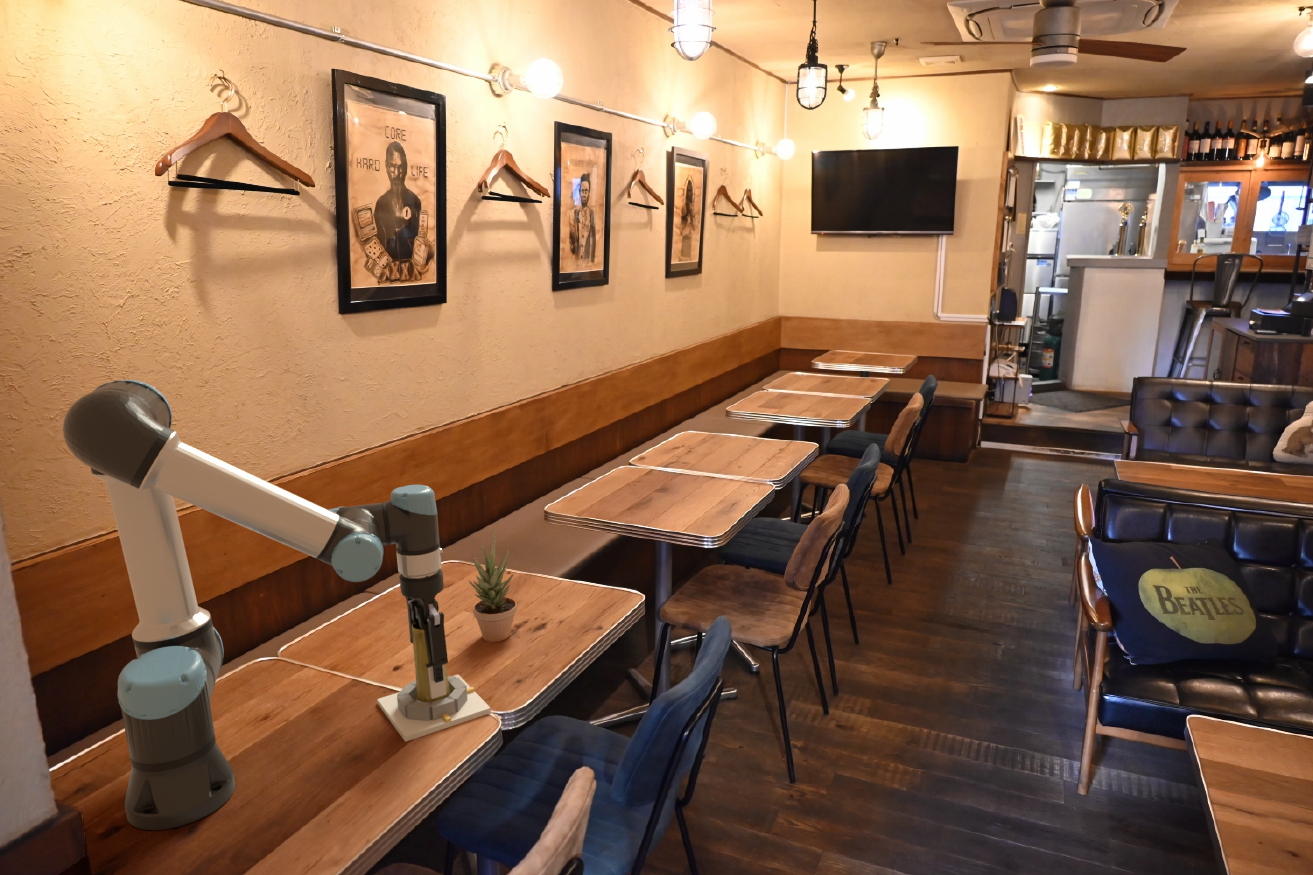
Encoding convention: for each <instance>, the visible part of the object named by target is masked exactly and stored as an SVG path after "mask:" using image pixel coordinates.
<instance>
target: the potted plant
mask: <svg viewBox="0 0 1313 875" xmlns="http://www.w3.org/2000/svg"><path fill="white" fill-rule="evenodd" d="M495 535H496V534H495V528H492V542H491V547H490V556H489V559H488V553H487V552H486V548H485V546H484V543H482V553H483V554H482V555H483V562H484V566H485V569H484V567H483V566H482V564H481V563H480V562H479V561H478V559H477V558H476V556H473V557H474V560H473V564H474V566H475V569H476V570H477V574H478V575H479V576H478V575H477V574H476V575H475V578H476V580H477V582H476V581H472V582H473V583H472V582H471V581H470V580H468V584H470V585H471V586H472V588H474V589H473V590H475V593H477V594H474V596H476V597H477V598H478V599H480V600H477V601H476V602H474V604H473V605H472V615H473V616H474V618H476V619H475V620H476V621H477V624H478V626H479V630H480V632H481V637H482V639H483V640H484V641H487V642H491V643H492V642H493V643H494V642H495V643H496V642H500V641H501V642H502V641H503V640H506V639H508V638H509V637H510V635H511V633H512V627H513V622H514V617H515V614H516V613H517V610H518V603H517V601H516V600H515V599H514V598H511V597H509V596H507V594H508V592H509V588H510V587H511V584H509V583H510V582H511V581H512V578H513V577H514V573H513V574H511V575H510V576H509V577H508V579H507V580H504V581H503V576H504V575H505V572H506V570H507V567H508V563H509V560H508V561H507V557H508V555H509V550H510V549H509V548H508V549H507V550H506V552H505V554H504V555H503V558H502V560H501V561H500V563H499V565H498V566H496V536H495ZM505 562H506V563H505ZM502 581H503V582H502Z"/></svg>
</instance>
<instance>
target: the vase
mask: <svg viewBox="0 0 1313 875" xmlns="http://www.w3.org/2000/svg"><path fill="white" fill-rule="evenodd" d="M412 636H413V643H412V645H413V647H412V648H413V655H414V667H415V669H414V670H415V671H414V673H415V680H416V698H417V699H418V700H419V701H420V702H434V701H437V700H440V699H443V698H446V697H448V695H449V694H450V689H449V683H448V676H449V675H448V668H447V664H444V674H445V684H446V695H443V696H440V697H437V698H434V699H432V698H431V695H430V685H429V675H428V668H426V665H425V664H429V658H428V653H427V648H426V643H425V635H424V630H423V629H421V628H419V627H417V626H416V623H415V622H414V623H413V624H412Z"/></svg>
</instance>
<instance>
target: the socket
mask: <svg viewBox="0 0 1313 875" xmlns="http://www.w3.org/2000/svg"><path fill="white" fill-rule="evenodd" d="M447 676H448V683H449V689H450V694H449V695H448V697H446V698H443V699H440V700H437V701H434V702H420V701H419V700H418V699H417V698H416V679H415V680H413V681H410V682H409V683H407V684H406V685H405V686H404V687H403V688H402V689H401V690H400V691H399V692H395V693H392V694H388V695H386V696H383V697H380V698H377V700H376V701H377V705H378V706H379V708H380V709H381V711H382V712H383V713H384V714H385V716H386V717H387V719H388V720H389V721H390V723H391V724H392V726H393V727H394V728H395V730H396V731H397V732H398V734H399V735H400V737H401V738H402V739H403V741H404V742H409V741H412V740H415V739H418V738H421V737H424V736H427V735H429V734H432V733H437V732H439V731H442V730H444V729H447V728H451V727H453V726H457V725H459V724H462V723H465V722H469V721H472V720H474V719H476V718H480V717H483V716H486V715H489V714H491V713H492V708H491V707H490V705H489V704H488V703H487V702H486V701H485V700H484V699H483V698H482V697H481V696H480V695H479V694H478V693H477V692H476V691H475V688H474V686H470V685H469V684H468V682H466V681H465V680H464V678H462V677H461V676H460V675H459V674H454V675H447Z"/></svg>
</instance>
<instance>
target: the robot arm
mask: <svg viewBox="0 0 1313 875" xmlns="http://www.w3.org/2000/svg"><path fill="white" fill-rule="evenodd" d="M172 417H173V413H172V409H171V406H170V403H169V401H168V400H167V397H165V395H164V394H163V393H162V392H161V391H159V389H157V388H156V387H155V386H153V385H151V384H149V383H147V382H144V381H140V380H135V379H120V380H113V381H110V382H105V383H102V385H99V386H97V387H96V388H95V389H94V390H93V391H91V392H89V393H87V394H85V395H83V396H81V397H80V398H78V399H77V400H76V401H75V402H74V403H73V404H72V405H71V406H70V407H69V408H68V410H67V412H66V414H65V416H64V419H63V426H62V434H63V438H64V442H65V444H66V446H67V448H68V450H69V451H70V452H71V453H72V455H74V457H75V458H76V459H77V460H79V461H80V462H81V463H82V464H84V465H86V466H88V467H89V468H90V471H91V474H92V476H93V477H95V478H97V479H99V480H101V481H103V482H104V483H106V489H107V492H108V495H109V500H110V504H111V507H112V512H113V517H114V520H115V524H116V529H117V532H118V537H119V540H120V545H121V550H122V554H123V557H124V562H125V566H126V569H127V574H128V578H129V582H130V586H131V590H132V595H133V599H134V603H135V604H134V605H135V608H136V611H137V614H138V615H137V616H138V620H139V622H138V624H137V625H136V627H134V629H133V630H132V632H131V637H132V641H133V646H134V650H135V652H136V653H135V654H136V658H135V659H132V660H130V661H129V662H128V663H127V664H126V665H125V666H124V667H123V668H122V670H121V672H120V674H119V675H118V679H117V699H118V704H119V707H120V710H121V716H122V721H123V725H124V726H123V728H124V732H125V737H126V742H127V747H128V753H129V758H130V759H129V760H130V764H131V771H130V775H129V780H128V784H127V789H126V792H125V793H126V794H125V799H124V808H125V815H126V818H127V822H128V823H129V824H130V825H131V826H133V827H135V828H136V829H140V830H146V831H161V830H168V829H169V830H170V829H174V828H178V827H183V826H185V825H188V824H191V823H193V822H196V821H198V820H200V819H203V818H205V817H207V816H209V815H211V814H212V813H214V812H216V810H218V809H219V808H221V807H222V806H223V805H225V803H226V802H228V800H229V799H230V798H231V797H232V795H233V793H234V792H235V788H236V782H235V774H234V771H233V768H232V766H231V765H230V763H229V761H228V760H227V758H226V756H225V755H224V753H223V752H222V750H221V748H220V746H219V745H218V744H217V739H216V734H215V727H214V721H213V715H212V707H211V706H212V704H211V700H212V696H213V692H214V689H215V686H216V683H217V678H218V676H219V674H220V670H221V668H222V666H223V662H224V660H223V659H224V658H225V657H224V655H225V654H224V645H223V641H222V638H221V635H220V634H219V632H218V631H217V629H216V628H215V627H214V625H213V622H212V620H213V619H212V616H211V613H210V611H209V610H207V609H205V608H203V607H201V606H199V605H198V602H197V597H196V591H195V588H194V582H193V578H192V574H191V570H190V565H189V561H188V556H187V552H186V547H185V542H184V538H183V533H182V530H181V526H180V521H179V516H178V512H177V508H176V504H175V498H177V499H178V500H182V501H183V502H185V503H188V504H190V505H193V506H195V507H198V508H199V509H202V510H205V511H207V512H209V513H212V514H213V515H216V516H219V517H220V518H222V519H224V520H228V521H230V522H231V523H234V524H236V525H238V526H240V527H243V528H246V529H248V530H250V531H252V532H255V533H257V534H259V535H262V536H264V537H266V538H268V539H271V540H273V541H275V542H278V543H280V544H282V545H285V546H287V547H289V548H292V549H294V550H296V551H297V552H300V553H303V554H306V555H308V556H310V557H312V558H315V559H316V560H319V561H321V562H323V563H325V564H327V565H330V566H332V568H333V570H334V571H335V572H336V574H337V575H338V576H339V577H341V579H343V580H346V581H349V582H353V583H359V582H364V581H367V580H369V579H370V578H373V577H374V576H375V575H376V573H378V572H379V570H380V569H381V566H382V564H383V558H384V557H383V556H384V550H385V549H384V546H389V545H394V544H395V548H396V550H395V551H396V559H397V560H396V562H397V570H398V573H399V586H400V593H401V595H402V596H403V597H404V598H405V600H406V606H407V616H408V626H409V627H408V628H409V642H410V643H411V644H413V636H412V624H413V623H414V622H415V623H416V626H417V627H419V628H421V629H423V630H424V635H425V643H426V648H427V653H428V658H429V664H425V665H426V668H428V675H429V685H430V695H431V698H432V699H434V698H437V697H440V696H443V695H446V684H445V674H444V664H446V665H447V664H448V663H449V659H448V651H447V650H448V649H447V641H446V632H445V614H444V612H443V611H440V612H439V610H440V607H439V602H438V601H437V600H436V597H437V595H438V594H439V593H440V594H441V592H442V591H443V590H444V587H445V585H444V574H443V569H441V568H442V567H443V566H442V558H441V557H442V556H441V554H443V552H444V550H443V548H441V544H440V534H439V533H440V532H439V531H440V530H439V519H438V517H439V516H438V509H437V503H436V497H435V496H436V495H435V491H434V490H433V489H432V488H431V487H430V486H428V485H424V484H410V485H409V484H408V485H404V486H399V487H397V488H394V489H393V490H392V491H391V493H390V499H389V500H388V501H385V502H384V501H383V502H376V503H375V502H374V503H368V504H359V505H358V504H357V505H349V506H338V507H335V508H329V509H327V508H325V507H323V506H321V505H319V504H317V503H315V502H312V501H310V500H308V499H306V498H303V497H301V496H300V495H297V494H295V493H293V492H290V491H288V490H286V489H285V488H281V487H280V486H278V485H275V484H273V483H271V482H269V481H268V480H265V479H263V478H260V477H258V476H256V475H254V474H253V473H249V472H248V471H245V470H243V469H241V468H239V467H237V466H235V465H233V464H230V463H228V462H226V461H224V460H221V459H220V458H217V457H215V456H213V455H211V454H209V453H207V452H204V451H202V450H200V449H198V448H196V447H194V446H191V445H190V444H188V443H185V442H182V440H181V439H180V436H179V433H178V431H176V430H174V429H172V428H171V427H172V425H173V424H172V422H173V421H172V420H173V419H172Z"/></svg>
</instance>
